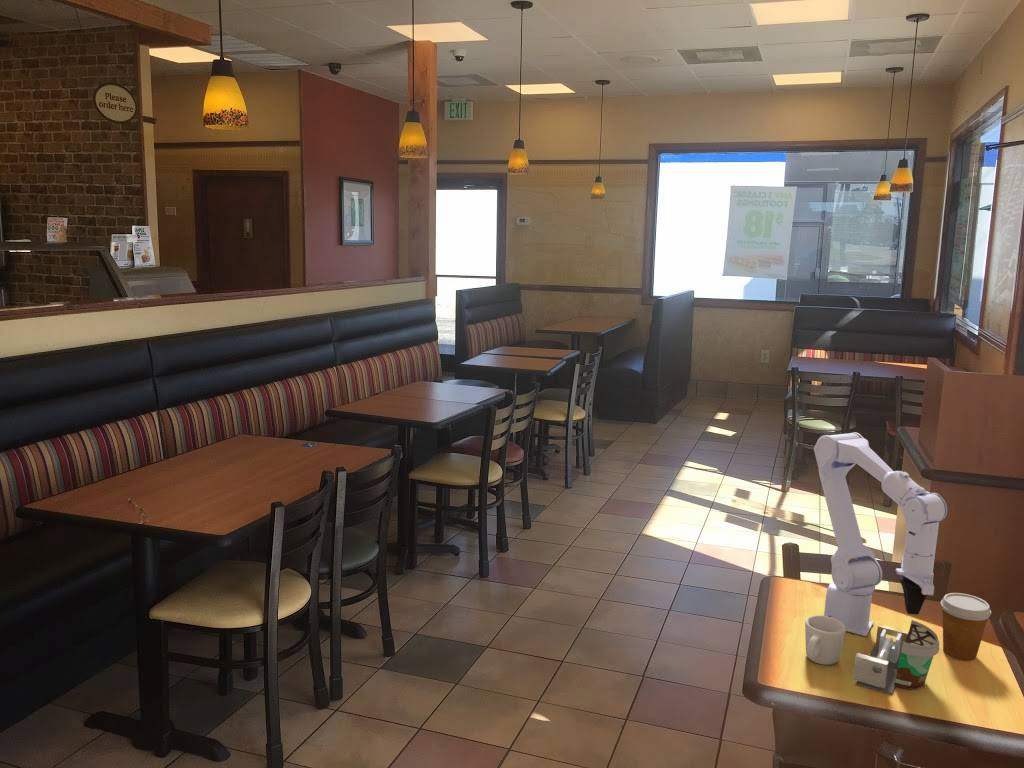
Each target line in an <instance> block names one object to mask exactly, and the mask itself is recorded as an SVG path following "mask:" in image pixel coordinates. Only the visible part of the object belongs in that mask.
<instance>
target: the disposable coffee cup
mask: <svg viewBox="0 0 1024 768" xmlns="http://www.w3.org/2000/svg"><path fill="white" fill-rule="evenodd" d="M940 606H941V608H942V651H943V653H944V654H945V655H946V656H948V657H949V658H952V659H955V660H958V661H962V662H971V661H975V660H976V659H977V656H978V653H979V649H980V646H981V642H982V640H983V637H984V633H985V629H986V626H987V622H988V620H989V617H990V616H991V615H992V610H991V608H990V604H989V603H988V602H987V601H986V600H984V599H982V598H980V597H978V596H975V595H971V594H967V593H961V592H950V593H947V594H945V595H944V596H943V598H942V599H941V600H940Z"/></svg>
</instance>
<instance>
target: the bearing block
mask: <svg viewBox="0 0 1024 768" xmlns="http://www.w3.org/2000/svg"><path fill="white" fill-rule="evenodd" d="M886 636H887V634H886V629H883V631H882V633H881V635H880V643H879V651H880V649H881V647H882V645H883V643H884V641H885V639H886V638H887V637H886ZM901 637H902V634H901V633H898V636H897V637H895V641H894V644H893V647H892V649H891V651H890V654H889V656H888V658H887V660H886V661H889V662H892V663H897V660H898V658H899V653H900V645H901ZM879 651H878V653H879Z"/></svg>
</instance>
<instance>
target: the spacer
mask: <svg viewBox="0 0 1024 768" xmlns="http://www.w3.org/2000/svg"><path fill="white" fill-rule="evenodd" d="M883 629H886V636H887V635H888V636H892V637H895V638H897V636H898V633H901V634H902V637H901V645H900V653H899V656H900V655H901V649H902V645H903V642H905V640H906V637H907V635H908V632H909V630H903V629H900V628H897V627H893V626H890V625H889V626H888V625H884V624H880V623H878V625H877V630H876V639H875V643H876V646H875V650H878V651H879V643H880V635H881V633H882V631H883Z"/></svg>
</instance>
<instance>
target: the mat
mask: <svg viewBox="0 0 1024 768" xmlns="http://www.w3.org/2000/svg"><path fill="white" fill-rule="evenodd" d="M875 646H876V642H875V643H874V646H873V647H872V649H871V651H870V653H869V655H868V656H871V657H874V658H877V656H878V650H875ZM899 659H900V656H899V658H898V660H897V663H892V662H889V663H888V671H887V680H886V686H885V688H881V687H878V686H874V685H871V684H867V683H864V682H861V681H857V680H856V682H855V685H858V686H861V687H865V688H868V689H871V690H874V691H878V692H880V693H884V694H887V695H891V696H892V695H893V693H894V690H895V688H896V686H894V682H895V678H896V673H897V668H898V664H899Z"/></svg>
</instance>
